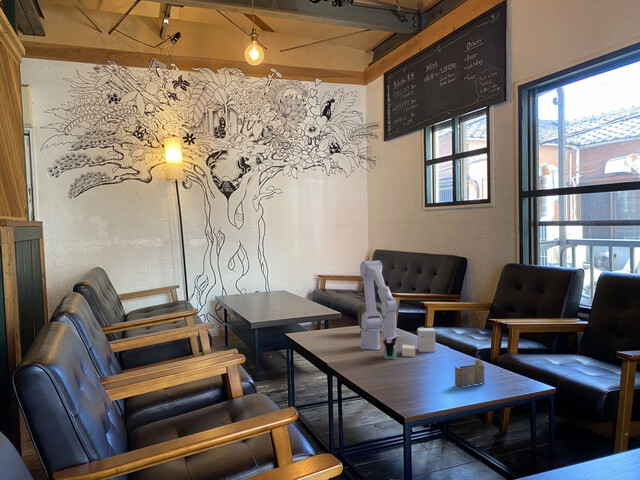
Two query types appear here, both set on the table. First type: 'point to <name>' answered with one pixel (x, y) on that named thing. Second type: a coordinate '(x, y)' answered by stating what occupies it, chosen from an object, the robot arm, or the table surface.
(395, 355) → the teal cube
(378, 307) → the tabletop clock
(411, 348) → the cream block
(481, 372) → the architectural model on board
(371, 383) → the table surface
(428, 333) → the small box
